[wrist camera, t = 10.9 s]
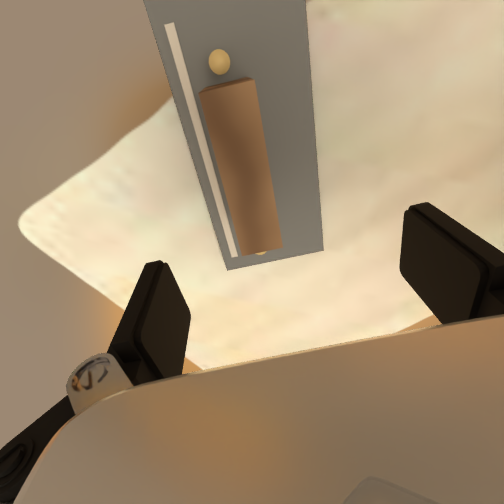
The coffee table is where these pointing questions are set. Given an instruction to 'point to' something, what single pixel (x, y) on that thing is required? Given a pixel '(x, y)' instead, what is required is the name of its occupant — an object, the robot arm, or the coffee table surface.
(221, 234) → the board
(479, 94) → the coffee table surface
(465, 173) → the coffee table surface
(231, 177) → the wooden block
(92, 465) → the robot arm
